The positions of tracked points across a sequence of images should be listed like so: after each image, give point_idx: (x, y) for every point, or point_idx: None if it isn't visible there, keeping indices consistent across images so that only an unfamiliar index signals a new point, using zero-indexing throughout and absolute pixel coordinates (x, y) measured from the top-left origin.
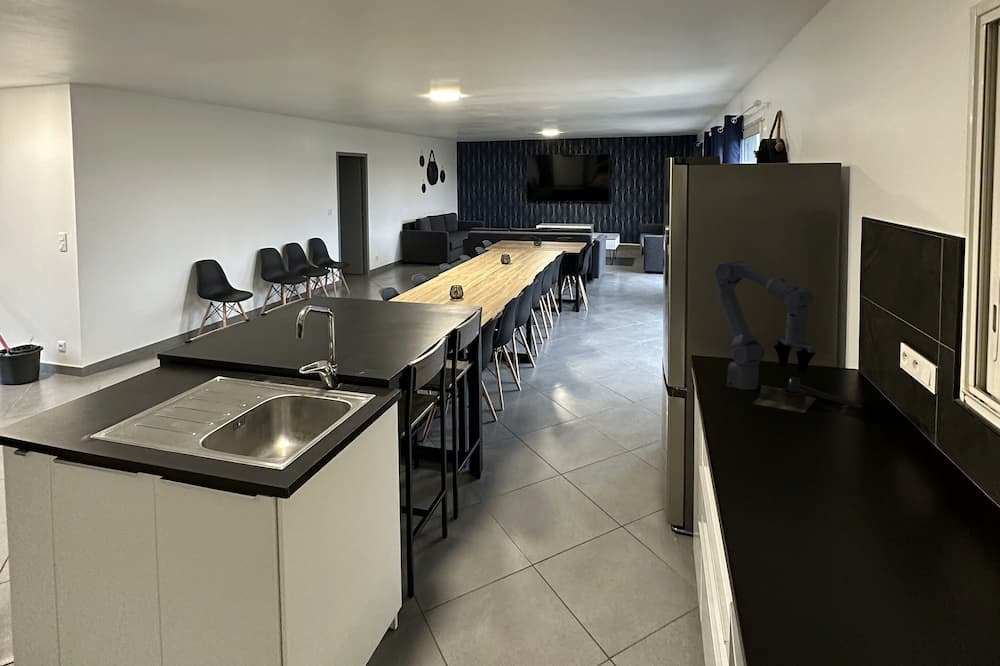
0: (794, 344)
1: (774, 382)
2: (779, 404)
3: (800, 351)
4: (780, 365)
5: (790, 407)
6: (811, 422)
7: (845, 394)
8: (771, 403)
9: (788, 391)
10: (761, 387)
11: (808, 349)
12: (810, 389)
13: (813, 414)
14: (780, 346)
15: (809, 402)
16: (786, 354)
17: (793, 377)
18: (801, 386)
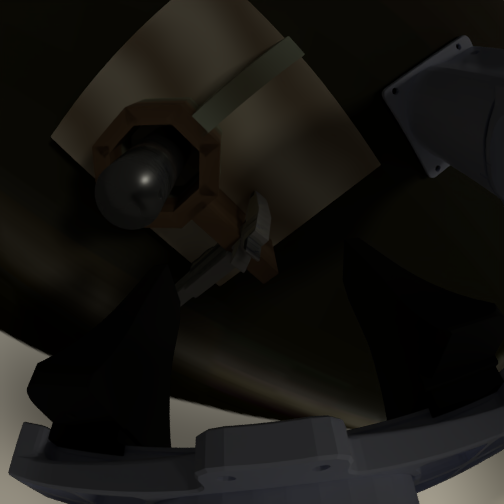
0: (138, 481)
1: (447, 265)
2: (165, 82)
3: (86, 412)
4: (356, 241)
5: (115, 110)
6: (3, 127)
7: (261, 375)
8: (188, 52)
9: (152, 139)
10: (285, 39)
11: (27, 449)
12: (195, 277)
13: (72, 178)
14: (437, 360)
15: (169, 229)
16: (378, 343)
17: (157, 209)
18: (222, 255)
